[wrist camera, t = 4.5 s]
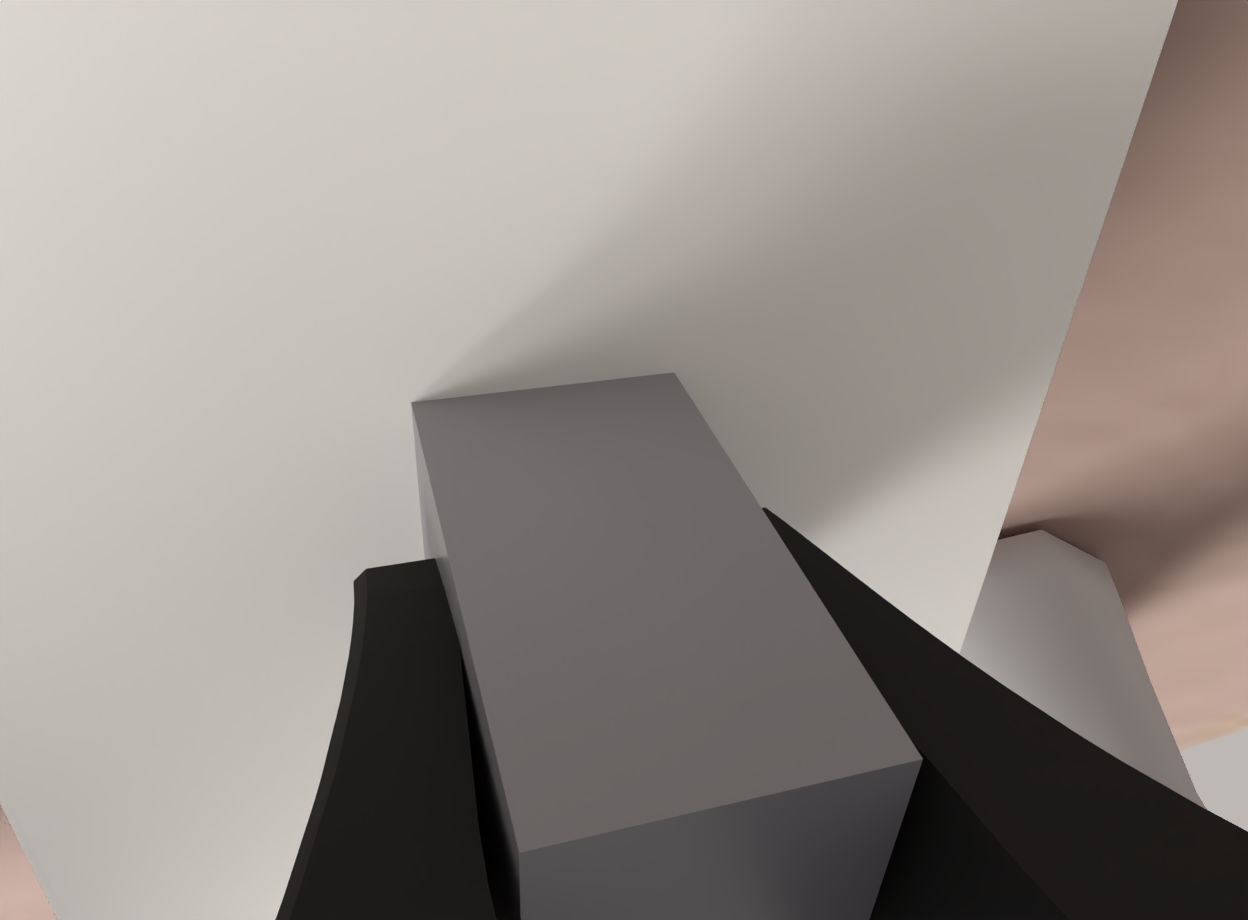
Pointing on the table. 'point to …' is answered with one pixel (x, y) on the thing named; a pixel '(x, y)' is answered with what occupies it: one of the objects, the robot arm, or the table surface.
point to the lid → (519, 412)
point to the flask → (1072, 652)
